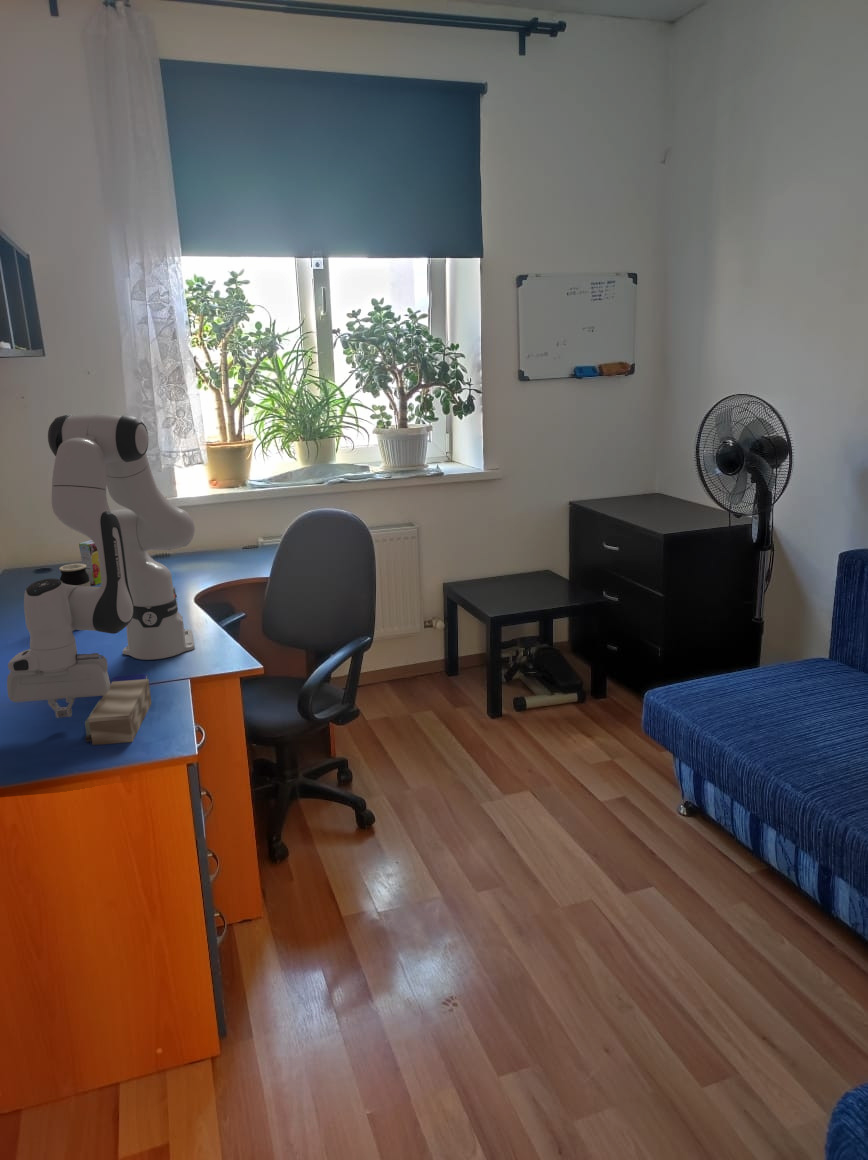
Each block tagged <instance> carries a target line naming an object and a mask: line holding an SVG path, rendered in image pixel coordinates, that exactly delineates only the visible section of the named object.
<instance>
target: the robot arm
mask: <svg viewBox="0 0 868 1160" xmlns="http://www.w3.org/2000/svg"><path fill="white" fill-rule="evenodd" d="M47 442H48V446H49V448H50V450H51V452H52V454H53V455H54V456H55V460H54V464H53V470H52V478H51V495H50V496H51V498H50V500H51V507H52V511H53V514H54V515H55V516H56V518H57V519H58V520H59V521H60V522H61V523H62V524H63V525H64V526H66V527H67V528H69V529H71V530H73V531H75V532H78V533H80V534H82V535H84V536H86V537H87V538H89V539H90V540H92V541H93V542H94V543H95V545H96V547H97V550H98V556H99V564H100V573H101V581H102V583H100V584H101V585H100V586H93V585H90V586H76V585H68V584H64V583H63V582H62V581H61V580H60V578H59V579H58V578H43V579H41V580H40V579H39V580H37V581H34V582H32V583H31V584H29V585H28V586H27V587H26V588H25V591H24V595H23V597H24V598H23V611H24V617H25V619H24V620H25V625H26V628H27V631H28V633H29V636H30V637H29V638H30V639H29V648H28V649H26V650H25V649H24V650H23V651H20V652H18V653H17V654H16V655H15V656H13V657H12V658H11V659H10V660H9V662H8V664H7V668H8V670H9V674H7V679H6V689H7V691H6V692H7V697H8V699H9V700H10V701H11V702H13V703H24V702H36V701H47V705H48V706H49V707H50V708H51V709H52V710H53V712H54V714H55V718H56V719H59V718H71V717H72V715H73V710H72V707H73V705H74V702H75V700H76V698H87V697H88V698H89V697H101V696H102V697H103V695H105V694H106V693H107V692H108V691H109V689H110V683H111V680H110V677H109V673H108V668H109V666H108V660H107V658H106V657H105V656H104V655H102V654H99V652H94V653H78V649H77V644H76V643H77V642H76V637H75V635H74V632H73V631H75V630H77V631H78V630H79V631H90V632H91V631H93V632H94V631H95V632H101V633H106V634H111V635H112V634H117V633H120V632H121V631H123V630H124V629H125V628H126V638H127V639H126V640H127V646H126V647H124V648H123V649H122V654H123V655H127V656H131V657H132V658H134V659H137V660H147V661H148V660H149V661H150V660H161V659H167V658H171V657H174V656H177V655H180V654H182V653H184V652H188V651H191V650H194V649H195V647H196V646H195V641H194V640H195V639H194V634H193V631H192V630H191V629H188V628H187V629H186V628H185V627H184V619H183V616H182V615H181V614H180V612H179V609H178V602H177V598H175V594H174V592H173V587H174V585H173V584H174V583H173V577H172V573H171V571H170V569H169V568H168V567H167V566H166V565H165V564H162V563H161V562H158V561H156V560H155V559H153V558H152V557H151V556H150V555H149V553H148V551H150V552H151V551H153V552H154V551H171V550H177V549H181V548H186V547H187V546H189V544H190V543H191V542H192V540H193V538H194V535H195V531H196V529H195V528H196V527H195V523H194V520H193V518H192V517H191V515H190V514H189V513H188V512H187V511H186V510H185V509H182V508H180V507H178V506H177V505H175V504H173V503H172V502H170V500H169V499H167V498H166V497H165V495H164V494H162V492H161V491H160V489H159V488H158V486H157V484H156V481H155V479H154V476H153V473H152V470H151V466H150V462H149V460H148V457H147V452H148V448H149V433H148V429H147V427H146V425H145V424H144V422H142V420H141V419H140V418H139V417H137V416H132V415H128V414H124V415H119V414H112V413H111V414H110V413H93V414H91V413H90V414H77V415H74V414H67V415H61V416H60V415H59V416H58V417H55V418H54V420H52V422H51V423H50V425H49V427H48V430H47ZM107 491H108V494H109V496H110V498H111V499H112V500H113V501H114V502H115V504H116V505H117V504H118V505H119V506H121V507H124V509H123V508H121V509H114V510H111V509H110V507H109V503H108V497H107ZM63 699H65V703H67V706H62V707H61V706H60V705H59V704H58V700H63Z"/></svg>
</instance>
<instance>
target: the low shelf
mask: <svg viewBox="0 0 868 1160" xmlns="http://www.w3.org/2000/svg"><path fill="white" fill-rule="evenodd" d="M110 683H111V682H110ZM151 696H152V695H151V689H150V680H149V678H147V679H141V680H127V681H114V682H112V683H111V684H110V689H109V691H108V692H107V693H106V694H105V695H103V696H102V697H101V699H99V700H100V702H99V701H98V702H99V703H98V702H97V703H98V705H97V704H96V705H97V706H96V705H95V706H96V708H95V707H94V708H95V709H94V708H93V709H94V711H93V710H92V711H93V712H92V711H91V712H92V714H91V713H90V714H91V716H90V717H89V716H88V717H89V724H90V731H91V735H88V736H87V735H85V742H86V743H89V742H91V744H92V746H95V745H96V746H97V745H99V746H100V745H111V744H122V743H124V744H125V743H133V742H134V739H135V737H136V736H137V734H138V731H139V729H140V728H141V725H142V723H143V722H144V720H145V718H146V715H147V713H148V712H149V710H150V707H151V706H152V697H151Z"/></svg>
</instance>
